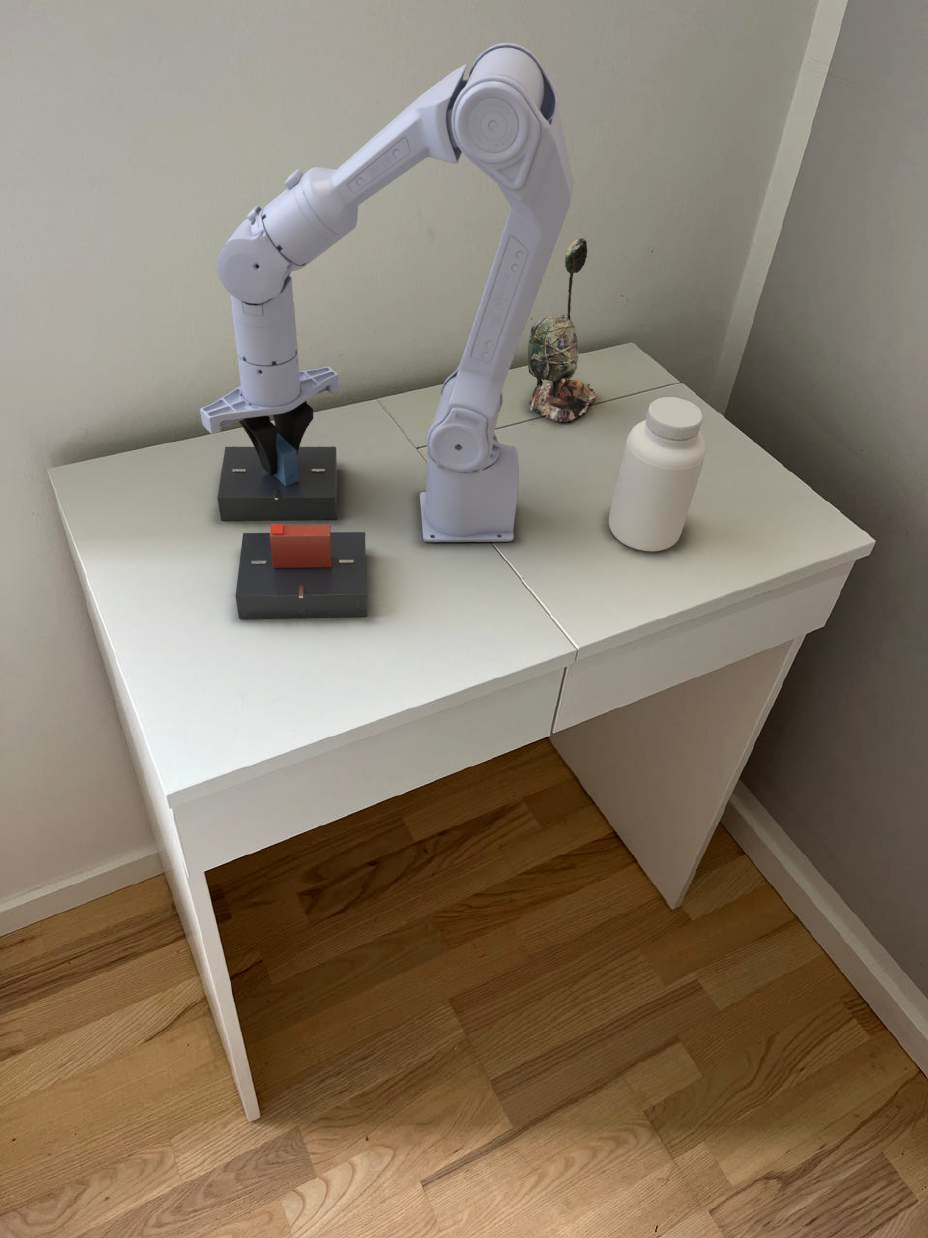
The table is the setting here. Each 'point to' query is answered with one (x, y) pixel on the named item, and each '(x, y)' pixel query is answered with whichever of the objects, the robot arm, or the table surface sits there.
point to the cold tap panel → (278, 487)
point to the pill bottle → (658, 476)
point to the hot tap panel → (302, 581)
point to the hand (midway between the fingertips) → (278, 466)
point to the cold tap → (286, 462)
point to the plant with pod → (559, 356)
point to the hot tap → (301, 546)
